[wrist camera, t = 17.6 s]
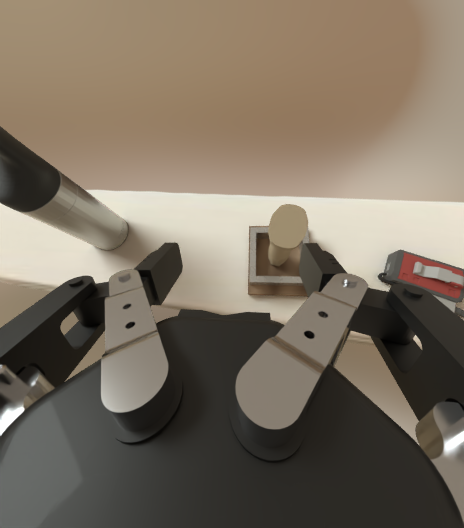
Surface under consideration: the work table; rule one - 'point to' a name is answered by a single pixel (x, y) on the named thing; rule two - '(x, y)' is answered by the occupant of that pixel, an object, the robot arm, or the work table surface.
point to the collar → (253, 279)
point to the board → (275, 271)
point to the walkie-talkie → (426, 277)
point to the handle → (286, 232)
